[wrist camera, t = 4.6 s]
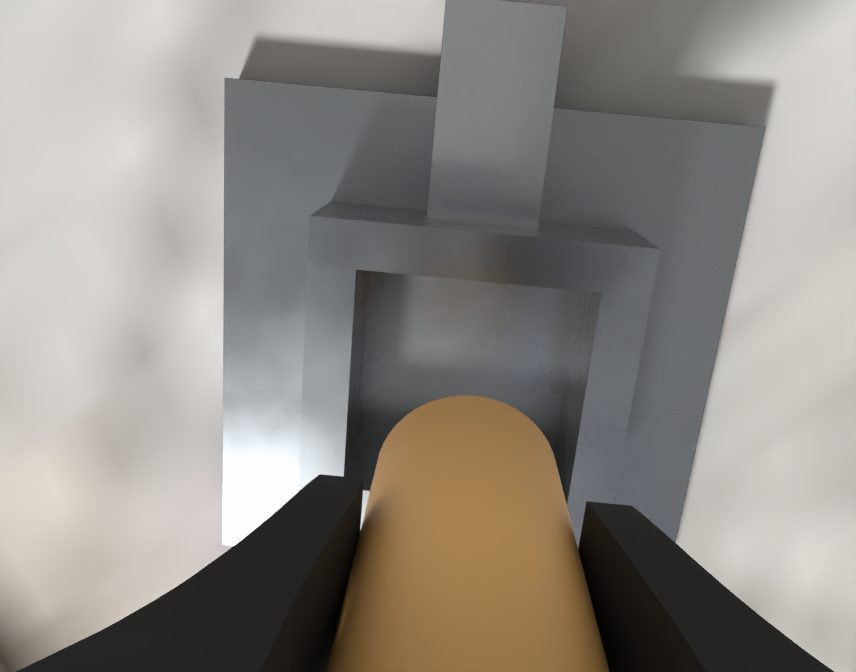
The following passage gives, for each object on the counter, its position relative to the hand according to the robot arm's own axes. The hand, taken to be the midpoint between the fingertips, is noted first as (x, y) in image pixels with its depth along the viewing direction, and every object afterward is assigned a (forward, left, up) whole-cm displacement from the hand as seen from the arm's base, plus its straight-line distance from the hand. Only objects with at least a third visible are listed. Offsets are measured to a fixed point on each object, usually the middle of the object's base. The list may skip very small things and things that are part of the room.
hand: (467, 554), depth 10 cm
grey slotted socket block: (0, 0, -9) cm, 9 cm away
